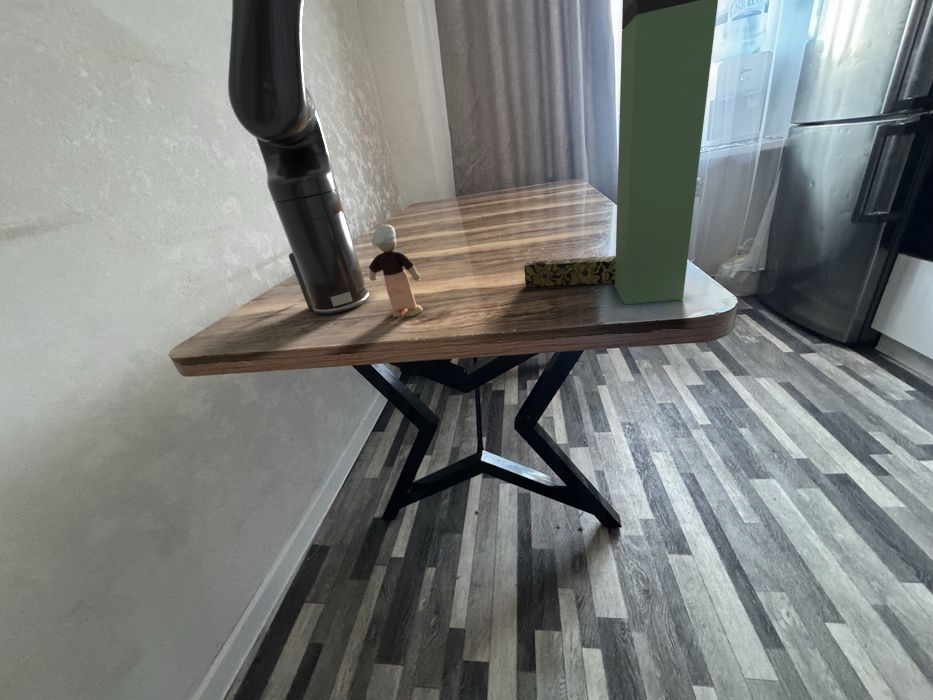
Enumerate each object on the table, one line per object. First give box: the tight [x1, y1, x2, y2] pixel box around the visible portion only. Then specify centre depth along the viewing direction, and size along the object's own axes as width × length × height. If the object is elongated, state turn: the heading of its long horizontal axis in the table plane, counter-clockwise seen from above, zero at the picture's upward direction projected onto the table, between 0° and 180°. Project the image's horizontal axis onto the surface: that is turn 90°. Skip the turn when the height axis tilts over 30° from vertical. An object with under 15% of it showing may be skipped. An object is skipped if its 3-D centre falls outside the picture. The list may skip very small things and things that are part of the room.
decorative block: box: [523, 255, 616, 288], centre depth 55 cm, size 15×2×4 cm, turn 72°
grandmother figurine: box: [368, 224, 424, 318], centre depth 54 cm, size 8×4×13 cm, turn 84°
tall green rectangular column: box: [614, 0, 719, 305], centre depth 42 cm, size 7×7×32 cm
